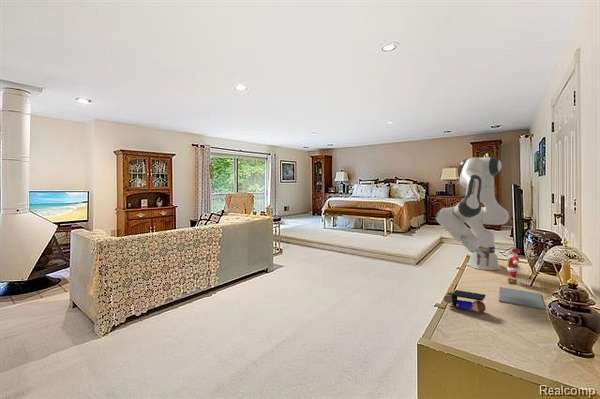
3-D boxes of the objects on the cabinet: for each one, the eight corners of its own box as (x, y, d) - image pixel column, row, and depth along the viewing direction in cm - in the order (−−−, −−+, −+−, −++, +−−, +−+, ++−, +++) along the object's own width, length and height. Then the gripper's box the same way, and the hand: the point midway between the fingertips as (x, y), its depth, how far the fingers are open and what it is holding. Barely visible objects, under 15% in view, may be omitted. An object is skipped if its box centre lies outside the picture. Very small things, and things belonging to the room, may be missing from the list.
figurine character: (444, 310, 125) (484, 316, 114) (442, 293, 125) (482, 297, 115) (448, 305, 130) (487, 310, 120) (446, 288, 130) (485, 292, 120)
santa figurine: (506, 275, 165) (506, 243, 164) (519, 276, 161) (519, 244, 160) (507, 288, 144) (507, 252, 143) (521, 290, 141) (522, 253, 140)
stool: (477, 262, 146) (477, 246, 145) (489, 263, 142) (489, 247, 142) (476, 264, 141) (476, 248, 141) (489, 266, 138) (489, 249, 138)
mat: (499, 288, 145) (499, 287, 145) (540, 294, 135) (540, 293, 135) (498, 301, 129) (498, 300, 129) (544, 309, 119) (545, 308, 119)
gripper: (465, 233, 137) (489, 255, 131) (469, 227, 153) (490, 247, 148) (454, 241, 140) (477, 263, 134) (460, 235, 156) (480, 254, 151)
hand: (484, 255), depth 141 cm, fingers closed on stool, 5 cm apart
